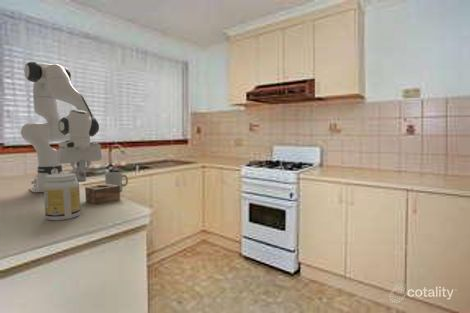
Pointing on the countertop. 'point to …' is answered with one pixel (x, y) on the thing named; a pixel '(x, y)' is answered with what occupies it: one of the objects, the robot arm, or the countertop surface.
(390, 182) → the countertop surface
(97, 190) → the bore block
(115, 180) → the mug
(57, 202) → the supplement tub
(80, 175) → the cylinder
